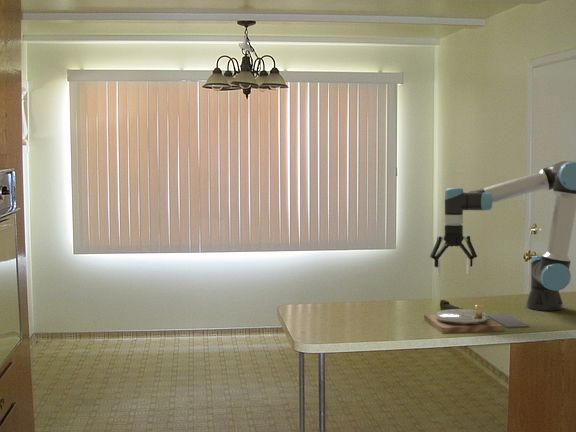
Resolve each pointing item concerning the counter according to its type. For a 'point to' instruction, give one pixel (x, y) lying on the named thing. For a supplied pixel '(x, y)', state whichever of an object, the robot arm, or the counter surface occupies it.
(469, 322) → the dial
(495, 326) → the board
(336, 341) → the counter surface
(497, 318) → the mat
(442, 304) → the hand tool
